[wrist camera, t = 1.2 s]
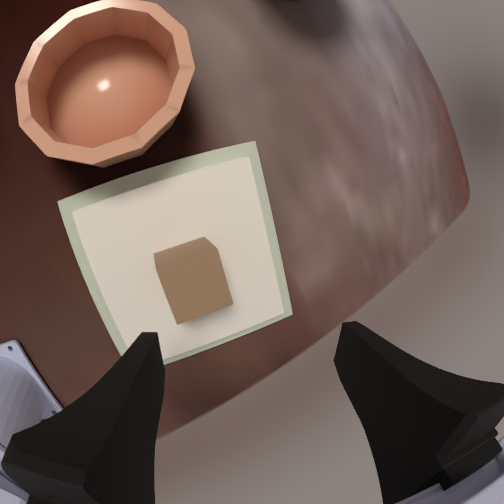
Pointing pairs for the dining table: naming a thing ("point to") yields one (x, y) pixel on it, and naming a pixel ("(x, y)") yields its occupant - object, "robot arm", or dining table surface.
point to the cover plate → (176, 223)
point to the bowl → (104, 82)
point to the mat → (154, 176)
